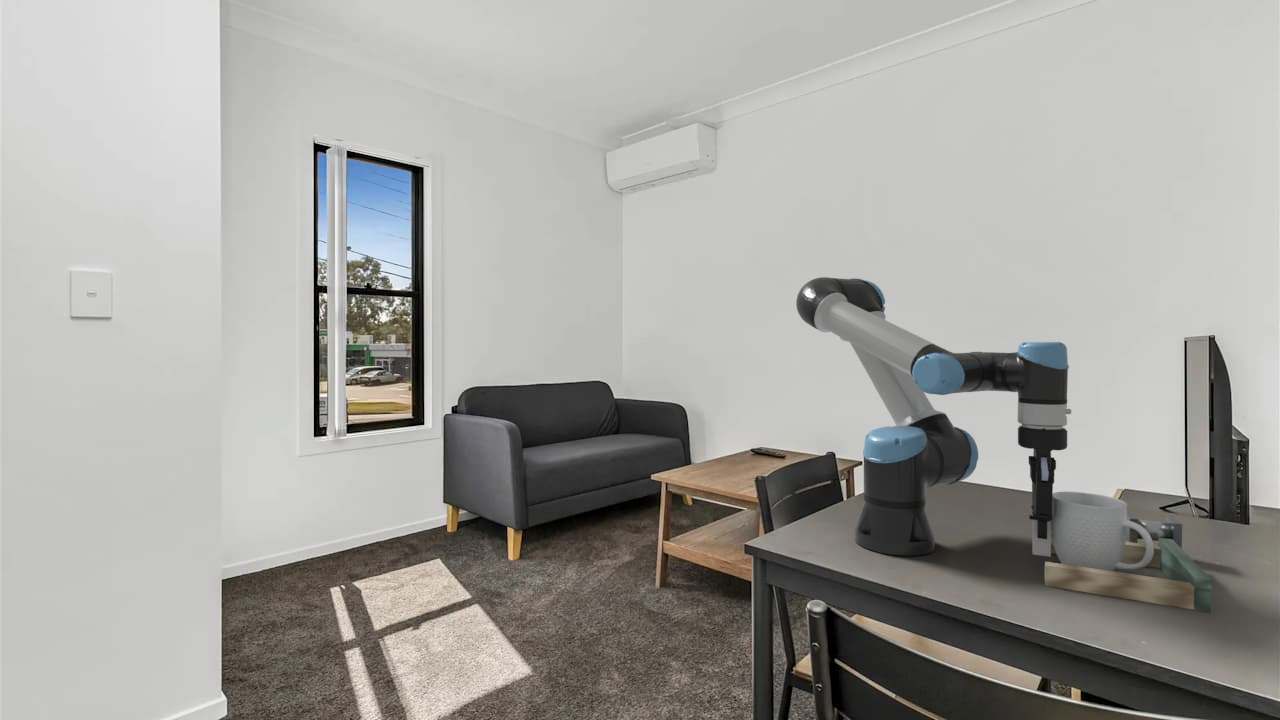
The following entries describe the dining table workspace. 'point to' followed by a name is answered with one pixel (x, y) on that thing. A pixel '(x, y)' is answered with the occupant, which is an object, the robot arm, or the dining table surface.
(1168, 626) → the dining table surface
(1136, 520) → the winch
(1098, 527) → the mug
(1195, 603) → the bay
